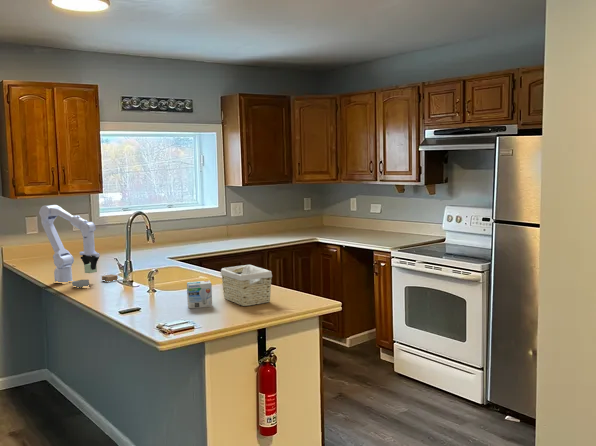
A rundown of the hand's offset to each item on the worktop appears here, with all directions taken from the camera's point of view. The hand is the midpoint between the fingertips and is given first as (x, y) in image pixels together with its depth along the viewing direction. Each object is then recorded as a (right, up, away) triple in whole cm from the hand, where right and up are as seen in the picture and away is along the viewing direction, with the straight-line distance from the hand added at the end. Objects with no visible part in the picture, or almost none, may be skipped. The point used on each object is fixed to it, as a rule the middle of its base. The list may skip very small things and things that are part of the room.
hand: (90, 269), depth 319 cm
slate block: (-2, -9, -8) cm, 12 cm away
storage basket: (+89, -11, -48) cm, 102 cm away
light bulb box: (+69, -12, -56) cm, 90 cm away
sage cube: (0, -2, 0) cm, 2 cm away
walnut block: (+9, -8, +6) cm, 13 cm away
